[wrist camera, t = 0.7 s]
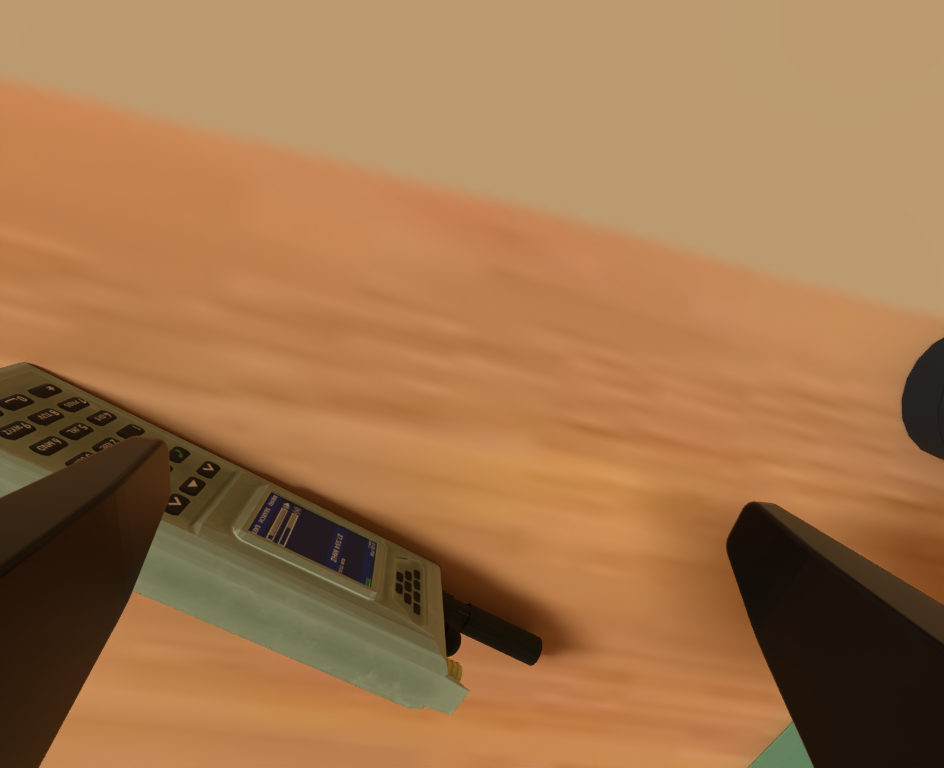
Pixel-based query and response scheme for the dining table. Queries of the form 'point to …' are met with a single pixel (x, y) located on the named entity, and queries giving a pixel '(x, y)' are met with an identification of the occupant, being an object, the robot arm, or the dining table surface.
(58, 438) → the handheld radio
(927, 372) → the wine bottle
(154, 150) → the dining table surface
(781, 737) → the board
